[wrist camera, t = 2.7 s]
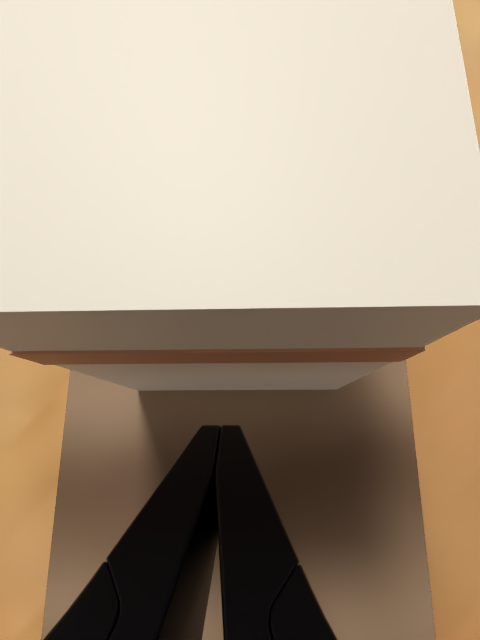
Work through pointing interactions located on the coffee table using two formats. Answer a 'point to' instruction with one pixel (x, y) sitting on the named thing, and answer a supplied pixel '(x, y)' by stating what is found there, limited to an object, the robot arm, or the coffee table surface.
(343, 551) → the plate
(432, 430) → the coffee table surface
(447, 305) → the card box
